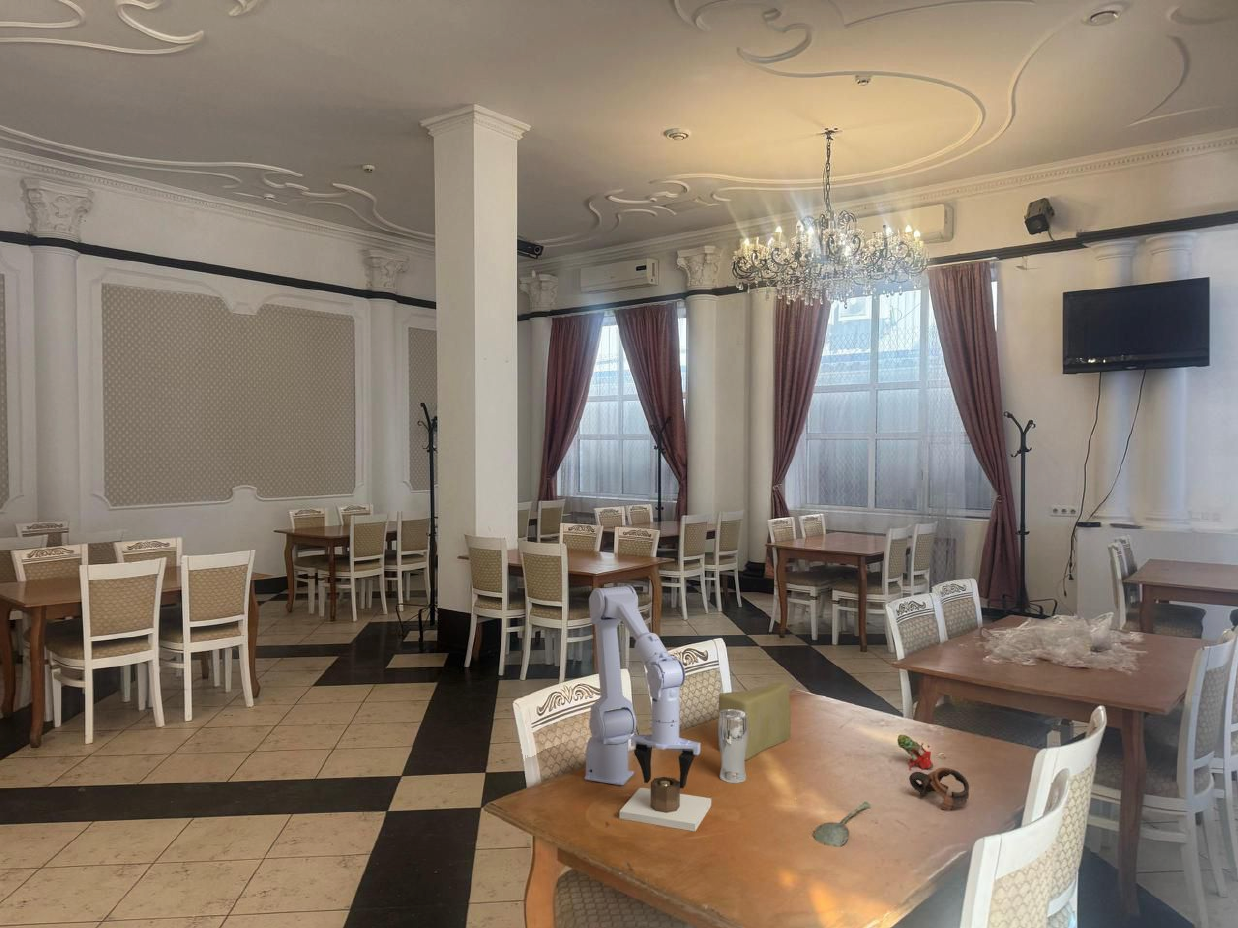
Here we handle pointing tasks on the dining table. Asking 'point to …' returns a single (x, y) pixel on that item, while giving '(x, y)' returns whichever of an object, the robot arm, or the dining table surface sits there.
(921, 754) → the figurine
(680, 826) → the white rectangular board
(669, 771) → the dining table surface
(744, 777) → the beer glass
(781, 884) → the dining table surface
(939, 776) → the brown looped clamp
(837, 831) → the soupspoon
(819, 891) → the dining table surface
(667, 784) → the brass rod
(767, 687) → the cheese
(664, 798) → the walnut bead
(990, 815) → the dining table surface
